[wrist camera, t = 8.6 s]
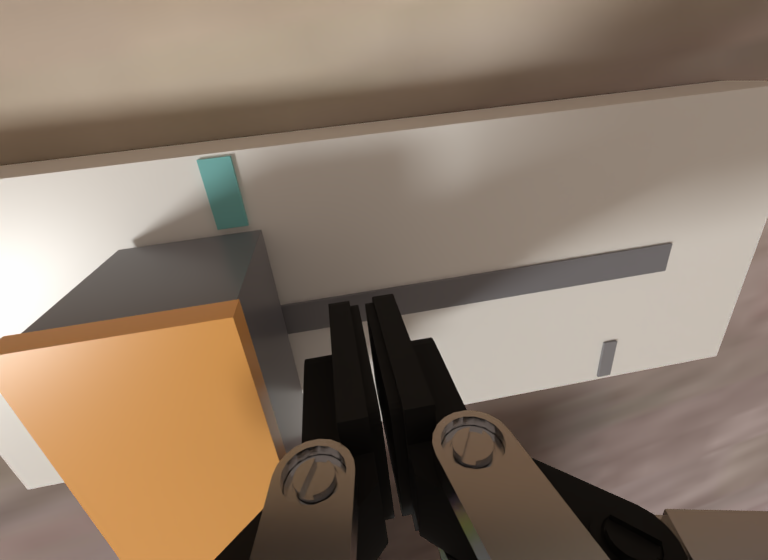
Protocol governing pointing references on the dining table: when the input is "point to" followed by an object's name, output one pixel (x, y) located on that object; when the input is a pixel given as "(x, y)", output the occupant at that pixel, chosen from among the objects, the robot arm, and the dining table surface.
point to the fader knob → (163, 393)
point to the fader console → (439, 231)
